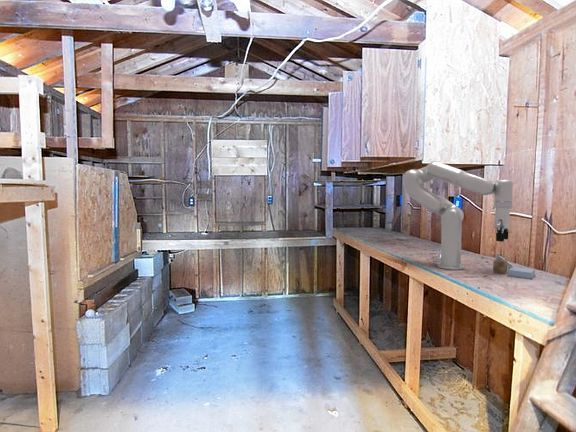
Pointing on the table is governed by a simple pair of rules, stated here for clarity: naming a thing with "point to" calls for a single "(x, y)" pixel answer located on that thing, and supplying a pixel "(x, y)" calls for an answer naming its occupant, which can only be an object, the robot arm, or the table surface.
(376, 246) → the table surface
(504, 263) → the walnut block
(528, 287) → the table surface
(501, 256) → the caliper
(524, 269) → the base block
